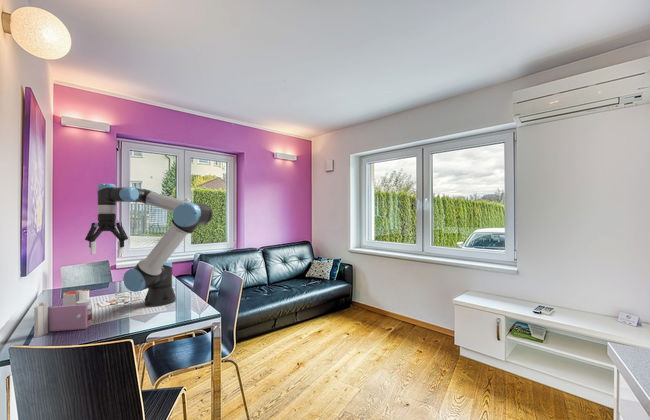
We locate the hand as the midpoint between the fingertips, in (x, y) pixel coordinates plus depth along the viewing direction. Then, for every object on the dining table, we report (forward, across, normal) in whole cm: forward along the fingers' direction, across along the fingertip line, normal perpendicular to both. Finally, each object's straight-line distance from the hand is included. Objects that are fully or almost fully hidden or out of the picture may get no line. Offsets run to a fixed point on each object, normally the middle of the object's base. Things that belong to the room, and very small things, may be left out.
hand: (106, 253), depth 148 cm
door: (+28, -3, +28) cm, 40 cm away
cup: (+29, +13, +3) cm, 32 cm away
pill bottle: (+29, -6, +23) cm, 37 cm away
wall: (+29, +4, +21) cm, 36 cm away
